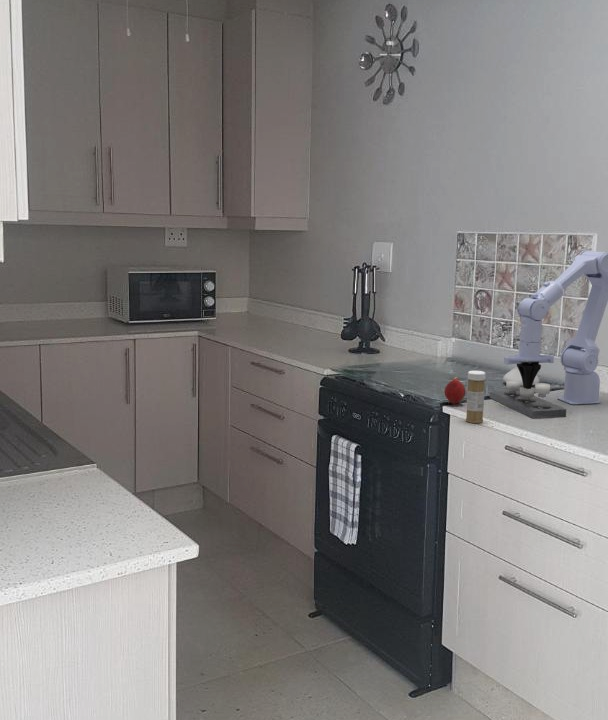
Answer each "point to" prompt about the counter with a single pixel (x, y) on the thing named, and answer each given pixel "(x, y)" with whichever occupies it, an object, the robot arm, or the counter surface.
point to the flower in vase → (515, 373)
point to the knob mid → (527, 393)
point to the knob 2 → (542, 389)
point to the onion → (455, 391)
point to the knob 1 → (513, 386)
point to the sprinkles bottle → (475, 396)
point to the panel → (528, 405)
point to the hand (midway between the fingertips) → (527, 388)
